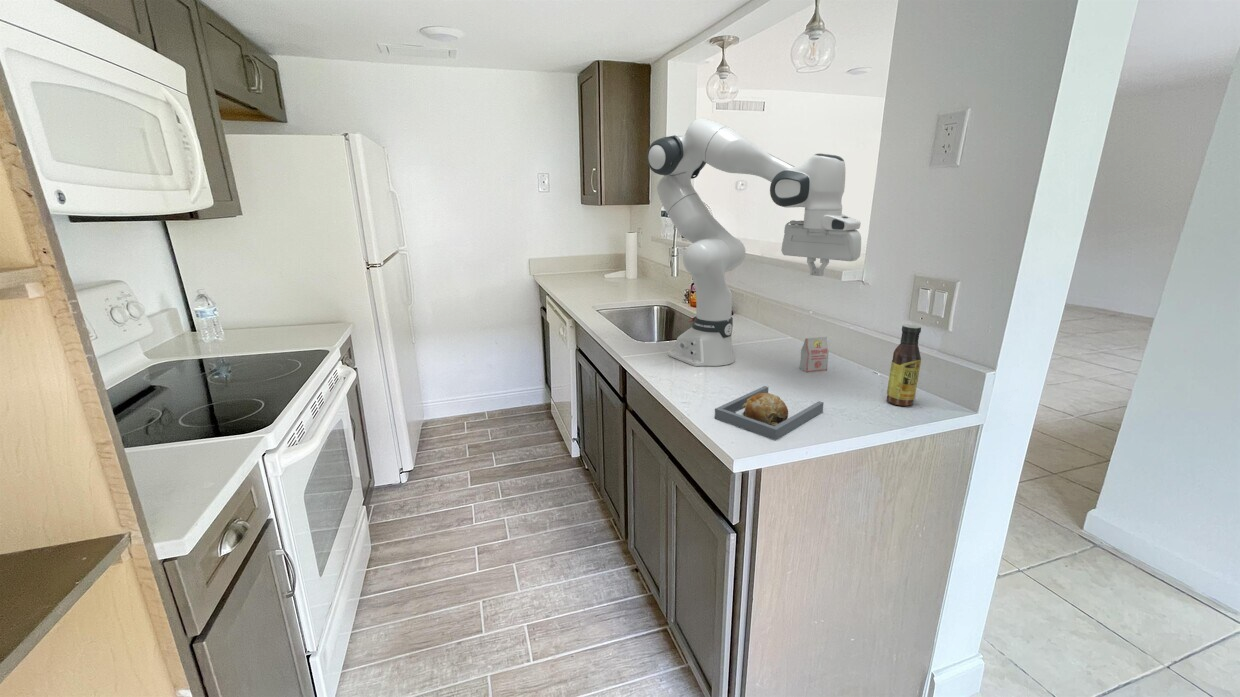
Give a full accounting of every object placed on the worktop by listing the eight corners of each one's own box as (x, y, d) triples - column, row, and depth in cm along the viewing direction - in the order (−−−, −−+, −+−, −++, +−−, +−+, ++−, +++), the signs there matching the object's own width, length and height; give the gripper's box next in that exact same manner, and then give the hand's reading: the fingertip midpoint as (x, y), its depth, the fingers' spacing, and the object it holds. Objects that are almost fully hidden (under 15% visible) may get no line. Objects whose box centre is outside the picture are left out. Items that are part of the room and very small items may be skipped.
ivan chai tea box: (799, 368, 155) (802, 336, 153) (820, 366, 156) (823, 335, 154) (806, 372, 152) (808, 340, 149) (826, 370, 153) (829, 338, 150)
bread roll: (757, 441, 118) (770, 418, 113) (731, 410, 125) (742, 387, 120) (788, 431, 123) (801, 408, 118) (761, 402, 129) (772, 379, 124)
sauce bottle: (902, 409, 124) (913, 330, 119) (880, 400, 130) (889, 325, 124) (920, 404, 127) (932, 327, 121) (897, 395, 132) (908, 321, 127)
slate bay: (714, 418, 122) (715, 408, 122) (764, 394, 136) (764, 385, 135) (775, 440, 111) (776, 429, 110) (822, 412, 124) (823, 402, 123)
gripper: (779, 220, 135) (775, 272, 139) (855, 223, 120) (848, 281, 124) (791, 219, 139) (787, 270, 143) (867, 222, 124) (860, 278, 128)
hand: (816, 275), depth 134 cm, fingers closed
